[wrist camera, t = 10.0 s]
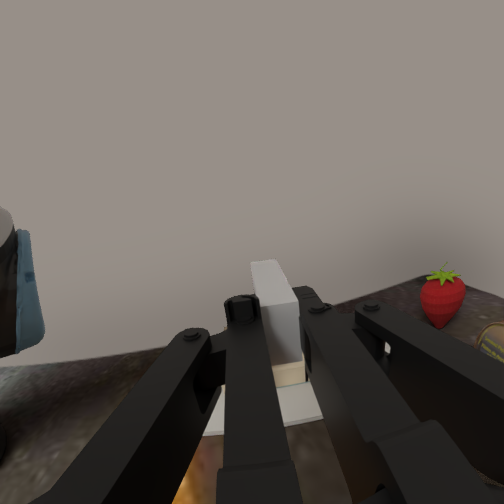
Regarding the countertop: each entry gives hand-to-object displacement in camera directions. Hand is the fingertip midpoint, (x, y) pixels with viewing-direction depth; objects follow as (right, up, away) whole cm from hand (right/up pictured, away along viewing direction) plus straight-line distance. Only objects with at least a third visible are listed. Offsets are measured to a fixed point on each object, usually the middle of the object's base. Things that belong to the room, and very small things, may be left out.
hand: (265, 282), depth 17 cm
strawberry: (+26, -9, +17) cm, 32 cm away
